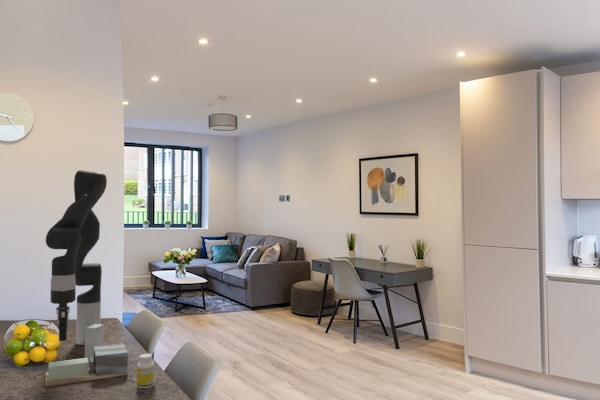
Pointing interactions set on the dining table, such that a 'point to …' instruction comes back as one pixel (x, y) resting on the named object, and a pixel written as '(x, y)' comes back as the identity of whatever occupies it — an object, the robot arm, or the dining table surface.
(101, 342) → the skincare box
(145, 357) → the supplement bottle
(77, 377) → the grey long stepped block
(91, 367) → the grey-green rectangular block
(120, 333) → the dining table surface
